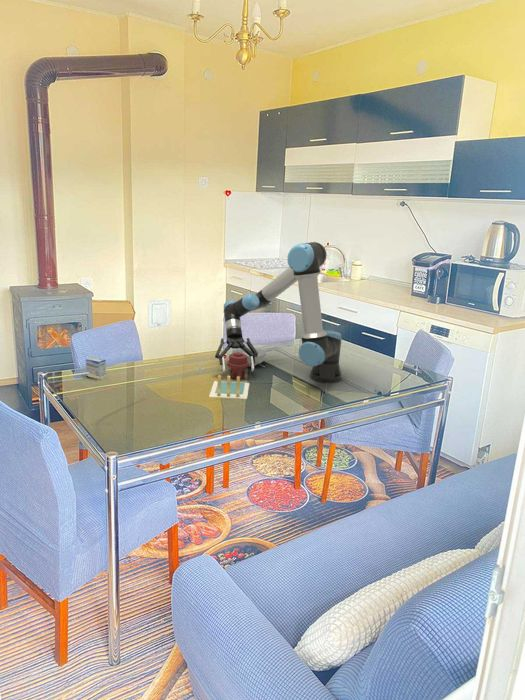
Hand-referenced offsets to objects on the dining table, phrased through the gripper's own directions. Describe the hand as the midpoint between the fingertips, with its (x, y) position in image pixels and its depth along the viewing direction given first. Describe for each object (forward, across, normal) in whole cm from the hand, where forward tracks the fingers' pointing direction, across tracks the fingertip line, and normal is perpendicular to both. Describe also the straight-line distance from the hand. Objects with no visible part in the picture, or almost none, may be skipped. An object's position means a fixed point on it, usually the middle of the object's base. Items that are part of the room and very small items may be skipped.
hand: (238, 370), depth 237 cm
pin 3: (+18, +4, +13) cm, 23 cm away
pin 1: (+17, +12, +12) cm, 24 cm away
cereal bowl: (-12, -10, -19) cm, 25 cm away
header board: (+13, +6, +6) cm, 16 cm away
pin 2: (+18, +8, +12) cm, 23 cm away
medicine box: (-4, +64, -11) cm, 65 cm away
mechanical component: (+2, 0, -5) cm, 5 cm away
